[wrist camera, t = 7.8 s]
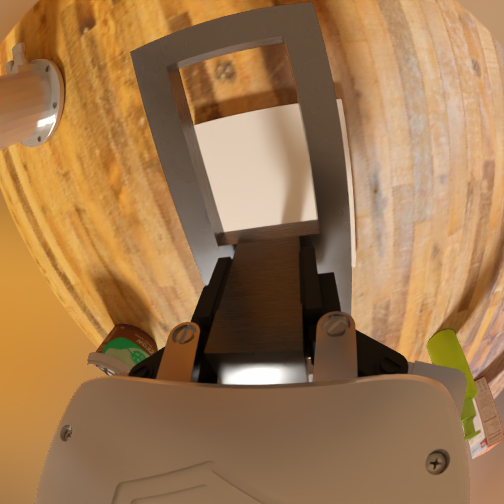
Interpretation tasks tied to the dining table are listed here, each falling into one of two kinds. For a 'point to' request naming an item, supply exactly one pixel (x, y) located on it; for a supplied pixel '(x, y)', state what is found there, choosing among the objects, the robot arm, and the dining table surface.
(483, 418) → the cracker box
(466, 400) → the soap dispenser
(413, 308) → the dining table surface
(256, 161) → the white pegged base
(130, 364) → the food container
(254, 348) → the grey frame with handle
